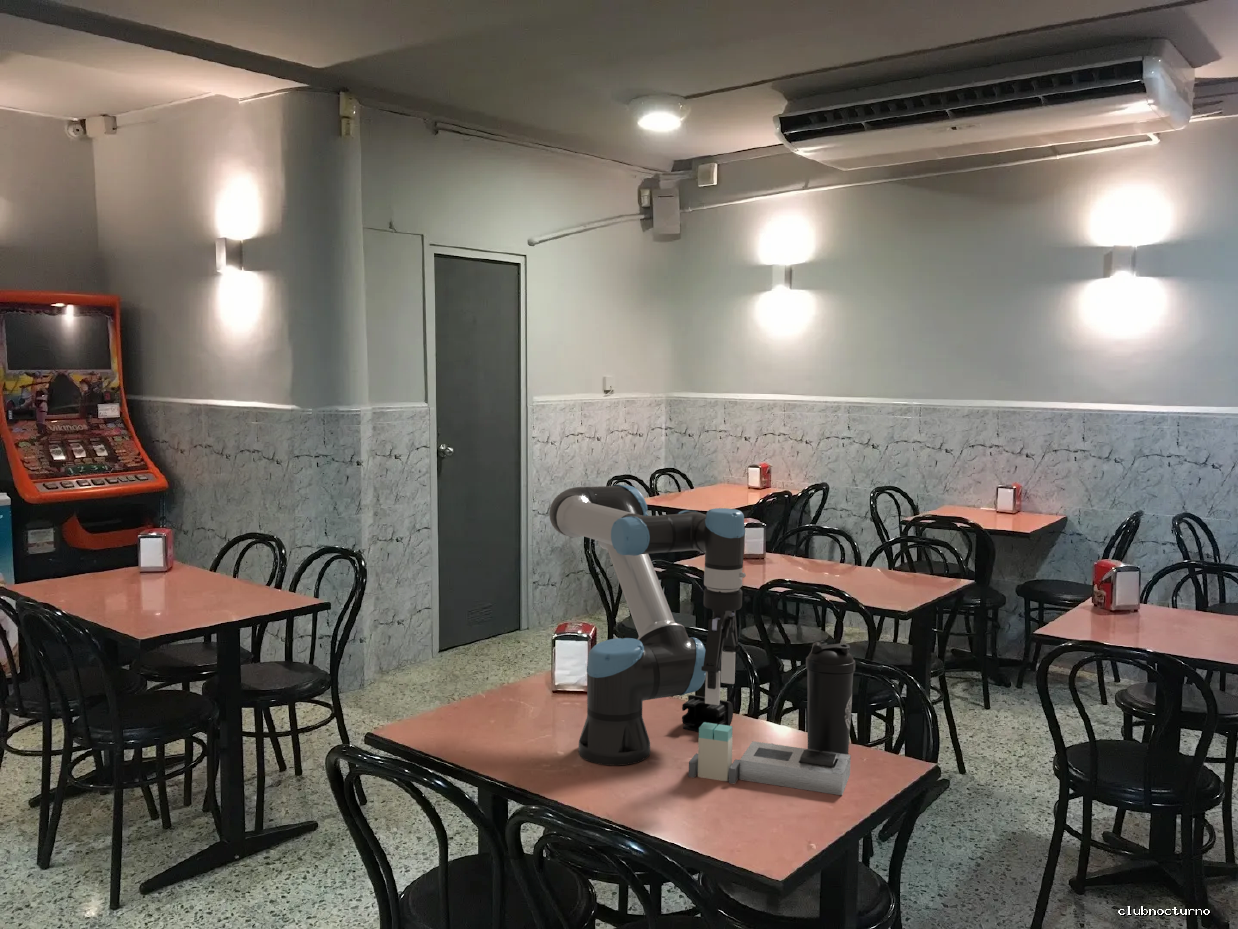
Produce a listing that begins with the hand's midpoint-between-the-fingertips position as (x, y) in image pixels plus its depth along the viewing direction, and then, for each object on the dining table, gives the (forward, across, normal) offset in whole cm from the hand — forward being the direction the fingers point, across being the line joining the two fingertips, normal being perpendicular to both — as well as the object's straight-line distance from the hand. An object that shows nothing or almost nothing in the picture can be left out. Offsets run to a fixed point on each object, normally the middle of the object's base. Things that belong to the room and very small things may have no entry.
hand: (720, 693), depth 196 cm
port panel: (+16, +4, -15) cm, 22 cm away
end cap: (+17, +25, +8) cm, 32 cm away
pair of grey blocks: (+17, -1, 0) cm, 17 cm away
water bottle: (+17, +19, -19) cm, 32 cm away
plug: (+17, -1, 0) cm, 17 cm away
